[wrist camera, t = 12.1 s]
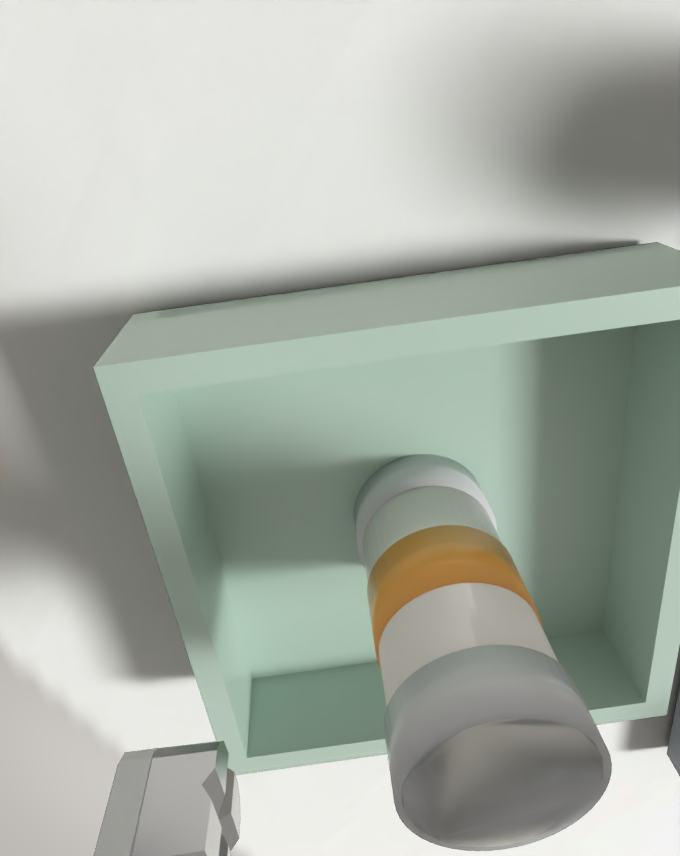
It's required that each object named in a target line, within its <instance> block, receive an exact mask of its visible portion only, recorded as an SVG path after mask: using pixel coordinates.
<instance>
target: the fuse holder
mask: <svg viewBox="0 0 680 856" xmlns="http://www.w3.org/2000/svg"><path fill="white" fill-rule="evenodd" d="M667 755H668V757H669V758H670V760H671V762H672V764H673V765H674V767H675V769H676V770H677V772H678V774H679V776H680V688H679V693H678V698H677V703H676V708H675V714H674V719H673V724H672V729H671V734H670V739H669V745H668V750H667Z"/></svg>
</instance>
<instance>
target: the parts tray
mask: <svg viewBox="0 0 680 856" xmlns="http://www.w3.org/2000/svg"><path fill="white" fill-rule="evenodd" d="M93 368H94V371H95V374H96V377H97V381H98V384H99V387H100V390H101V393H102V396H103V399H104V402H105V405H106V408H107V411H108V414H109V417H110V420H111V423H112V426H113V429H114V432H115V435H116V438H117V441H118V444H119V447H120V450H121V453H122V456H123V460H124V463H125V466H126V469H127V472H128V475H129V478H130V481H131V484H132V487H133V490H134V493H135V496H136V499H137V502H138V505H139V508H140V511H141V514H142V517H143V520H144V523H145V526H146V529H147V532H148V535H149V538H150V542H151V545H152V548H153V551H154V554H155V557H156V560H157V563H158V566H159V569H160V572H161V575H162V578H163V581H164V584H165V587H166V590H167V593H168V596H169V599H170V602H171V605H172V608H173V611H174V614H175V617H176V621H177V624H178V627H179V630H180V633H181V636H182V639H183V642H184V645H185V648H186V651H187V654H188V657H189V660H190V663H191V666H192V669H193V672H194V675H195V678H196V681H197V684H198V687H199V690H200V693H201V696H202V699H203V703H204V706H205V709H206V712H207V715H208V718H209V721H210V724H211V727H212V730H213V733H214V736H215V739H216V741H224V742H225V745H226V748H227V751H228V753H229V756H228V767H227V768H229V769H231V770H232V771H234V772H235V775H241V774H248V773H256V772H263V771H270V770H277V769H284V768H292V767H299V766H306V765H313V764H320V763H327V762H335V761H342V760H349V759H356V758H363V757H370V756H378V755H385V754H387V747H386V740H385V734H384V716H385V711H386V708H387V706H386V699H385V693H384V686H383V680H382V673H381V670H380V668H379V666H378V662H377V658H376V652H375V645H374V638H373V632H372V625H371V618H370V611H369V605H368V598H367V584H368V582H367V575H366V569H365V568H364V566H363V564H362V562H361V559H360V556H359V552H358V545H357V538H356V531H355V524H354V513H353V512H354V504H355V501H356V497H357V495H358V493H359V491H360V489H361V487H362V486H363V484H364V483H365V482H366V480H367V479H368V478H369V477H370V476H371V475H372V474H373V473H374V472H376V471H377V470H378V469H380V468H381V467H383V466H384V465H386V464H388V463H390V462H392V461H394V460H396V459H399V458H402V457H406V456H411V455H419V454H432V455H439V456H443V457H447V458H450V459H452V460H454V461H457V462H458V463H460V464H462V465H463V466H464V467H466V468H467V469H468V470H469V471H470V472H471V473H472V474H473V475H474V477H475V478H476V480H477V481H478V483H479V485H480V487H481V489H482V492H483V494H484V496H485V498H486V500H487V502H488V504H489V506H490V508H491V510H492V512H493V515H494V517H495V520H496V524H497V533H498V535H499V538H500V540H501V542H502V544H503V545H504V546H505V547H506V549H507V550H508V552H509V553H510V555H511V557H512V559H513V561H514V563H515V565H516V567H517V570H518V572H519V574H520V576H521V578H522V580H523V582H524V584H525V586H526V588H527V590H528V593H529V595H530V597H531V599H532V601H533V603H534V605H535V607H536V609H537V611H538V614H539V616H540V618H541V622H542V627H543V631H544V633H545V635H546V637H547V639H548V641H549V643H550V645H551V648H552V650H553V652H554V654H555V656H556V658H557V660H558V662H559V663H561V664H562V665H563V666H564V667H565V668H566V669H567V670H568V672H569V673H570V674H571V676H572V677H573V679H574V681H575V683H576V685H577V687H578V689H579V692H580V694H581V696H582V698H583V700H584V702H585V704H586V706H587V708H588V710H589V712H590V714H591V716H592V718H593V720H594V722H595V724H596V725H600V724H607V723H614V722H621V721H629V720H636V719H643V718H650V717H657V716H664V715H667V711H668V705H669V700H670V695H671V689H672V684H673V678H674V673H675V668H676V662H677V657H678V651H679V646H680V251H679V250H676V249H673V248H671V247H668V246H666V245H663V244H660V243H658V242H654V243H647V244H640V245H632V246H625V247H618V248H610V249H603V250H596V251H589V252H581V253H574V254H567V255H560V256H552V257H545V258H538V259H531V260H523V261H516V262H509V263H501V264H494V265H487V266H480V267H472V268H465V269H458V270H451V271H443V272H436V273H429V274H422V275H414V276H407V277H400V278H392V279H385V280H378V281H371V282H363V283H356V284H349V285H342V286H334V287H327V288H320V289H313V290H305V291H298V292H291V293H283V294H276V295H269V296H262V297H254V298H247V299H240V300H233V301H225V302H218V303H211V304H204V305H196V306H189V307H182V308H174V309H167V310H160V311H153V312H145V313H138V314H133V315H132V317H131V318H130V319H129V321H128V322H127V323H126V324H125V326H124V327H123V328H122V330H121V331H120V332H119V334H118V335H117V336H116V338H115V339H114V340H113V342H112V343H111V344H110V346H109V347H108V348H107V349H106V351H105V352H104V353H103V355H102V356H101V357H100V359H99V360H98V361H97V363H96V364H95V365H94V367H93Z"/></svg>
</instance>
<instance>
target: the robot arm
mask: <svg viewBox="0 0 680 856" xmlns="http://www.w3.org/2000/svg"><path fill="white" fill-rule="evenodd" d="M228 756H229V753H228V751H227V748H226V745H225V742H224V741H216V742H207V743H199V744H190V745H182V746H173V747H165V748H154V749H147V750H140V751H132V752H125V753H124V755H123V756H122V758H121V760H120V762H119V764H118V766H117V770H116V774H115V777H114V781H113V785H112V788H111V792H110V796H109V800H108V803H107V807H106V811H105V815H104V819H103V822H102V826H101V829H100V833H99V837H98V841H97V844H96V848H95V852H94V856H232V855H231V852H230V851H231V850H232V848H233V847H234V845H235V844H236V842H237V841H238V839H239V835H240V819H241V816H240V794H239V788H238V782H237V778H236V775H235V772H234V771H232V770H231V769H229V768H227V767H228Z"/></svg>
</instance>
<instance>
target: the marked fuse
mask: <svg viewBox="0 0 680 856" xmlns="http://www.w3.org/2000/svg"><path fill="white" fill-rule="evenodd" d="M353 513H354V524H355V531H356V538H357V545H358V552H359V556H360V559H361V562H362V564H363V566H364V568H365V569H366V575H367V582H368V584H367V598H368V605H369V611H370V618H371V625H372V632H373V638H374V645H375V652H376V658H377V662H378V666H379V668H380V670H381V673H382V680H383V686H384V693H385V699H386V706H387V708H386V711H385V716H384V734H385V740H386V747H387V754H388V761H389V768H390V775H391V782H392V789H393V796H394V803H395V807H396V811H397V813H398V815H399V817H400V819H401V820H402V822H403V823H404V824H405V826H406V827H407V828H409V829H410V830H411V831H412V832H413V833H415V834H416V835H418V836H419V837H421V838H422V839H425V840H427V841H429V842H431V843H434V844H437V845H439V846H443V847H447V848H452V849H458V850H468V851H491V850H501V849H507V848H513V847H518V846H522V845H526V844H530V843H533V842H536V841H539V840H542V839H544V838H546V837H549V836H551V835H554V834H556V833H557V832H559V831H561V830H563V829H565V828H567V827H568V826H570V825H572V824H573V823H575V822H576V821H577V820H579V819H580V818H581V817H583V816H584V815H585V814H586V813H587V812H588V811H589V810H591V809H592V808H593V807H594V805H595V804H596V803H597V802H598V801H599V799H600V798H601V796H602V795H603V793H604V792H605V790H606V788H607V785H608V783H609V780H610V776H611V766H612V763H611V758H610V754H609V752H608V750H607V747H606V745H605V743H604V741H603V739H602V737H601V735H600V733H599V731H598V729H597V727H596V724H595V722H594V720H593V718H592V716H591V714H590V712H589V710H588V708H587V706H586V704H585V702H584V700H583V698H582V696H581V694H580V692H579V689H578V687H577V685H576V683H575V681H574V679H573V677H572V676H571V674H570V673H569V672H568V670H567V669H566V668H565V667H564V666H563V665H562V664H561V663H559V662H558V660H557V658H556V656H555V654H554V652H553V650H552V648H551V645H550V643H549V641H548V639H547V637H546V635H545V633H544V631H543V627H542V622H541V618H540V616H539V614H538V611H537V609H536V607H535V605H534V603H533V601H532V599H531V597H530V595H529V593H528V590H527V588H526V586H525V584H524V582H523V580H522V578H521V576H520V574H519V572H518V570H517V567H516V565H515V563H514V561H513V559H512V557H511V555H510V553H509V552H508V550H507V549H506V547H505V546H504V545H503V544H502V542H501V540H500V538H499V535H498V533H497V524H496V520H495V517H494V515H493V512H492V510H491V508H490V506H489V504H488V502H487V500H486V498H485V496H484V494H483V492H482V489H481V487H480V485H479V483H478V481H477V480H476V478H475V477H474V475H473V474H472V473H471V472H470V471H469V470H468V469H467V468H466V467H464V466H463V465H462V464H460V463H458V462H457V461H454V460H452V459H450V458H447V457H443V456H439V455H432V454H419V455H411V456H406V457H402V458H399V459H396V460H394V461H392V462H390V463H388V464H386V465H384V466H383V467H381V468H380V469H378V470H377V471H376V472H374V473H373V474H372V475H371V476H370V477H369V478H368V479H367V480H366V482H365V483H364V484H363V486H362V487H361V489H360V491H359V493H358V495H357V497H356V501H355V504H354V512H353Z"/></svg>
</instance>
